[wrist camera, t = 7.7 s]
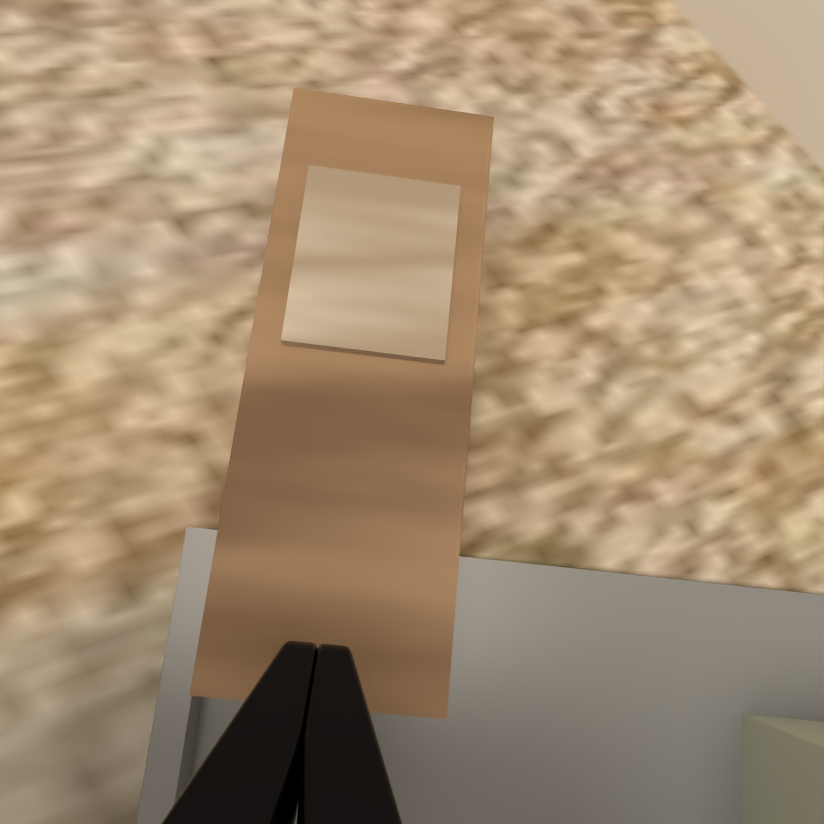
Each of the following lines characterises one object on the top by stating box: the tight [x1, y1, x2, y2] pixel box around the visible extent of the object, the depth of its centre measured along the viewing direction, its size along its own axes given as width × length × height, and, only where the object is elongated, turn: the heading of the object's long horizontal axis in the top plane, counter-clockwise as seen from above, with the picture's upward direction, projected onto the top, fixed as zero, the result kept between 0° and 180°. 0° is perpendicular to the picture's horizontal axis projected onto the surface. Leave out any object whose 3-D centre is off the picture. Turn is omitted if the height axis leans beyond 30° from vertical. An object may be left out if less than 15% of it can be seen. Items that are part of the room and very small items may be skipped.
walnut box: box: [189, 88, 494, 719], centre depth 17 cm, size 5×5×14 cm
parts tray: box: [136, 527, 824, 824], centre depth 18 cm, size 12×22×2 cm, turn 84°
